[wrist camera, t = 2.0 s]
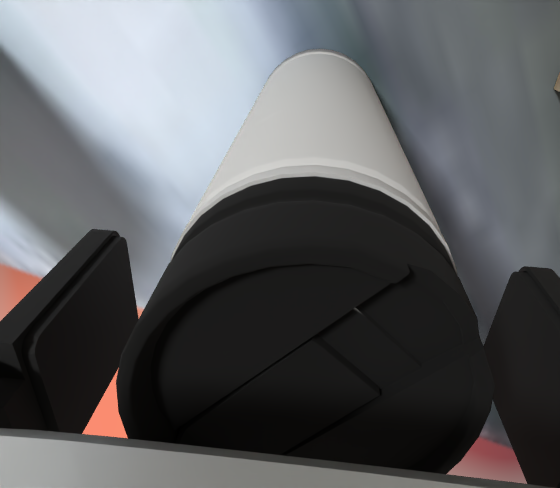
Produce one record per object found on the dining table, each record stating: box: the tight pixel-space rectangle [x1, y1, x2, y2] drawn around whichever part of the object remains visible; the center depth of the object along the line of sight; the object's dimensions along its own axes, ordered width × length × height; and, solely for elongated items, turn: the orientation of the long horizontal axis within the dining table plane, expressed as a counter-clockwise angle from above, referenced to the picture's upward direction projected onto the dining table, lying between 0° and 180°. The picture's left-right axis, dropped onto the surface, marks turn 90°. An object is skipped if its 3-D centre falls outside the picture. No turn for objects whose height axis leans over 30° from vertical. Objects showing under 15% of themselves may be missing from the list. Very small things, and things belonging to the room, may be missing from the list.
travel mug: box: [116, 49, 495, 474], centre depth 15 cm, size 6×7×20 cm
